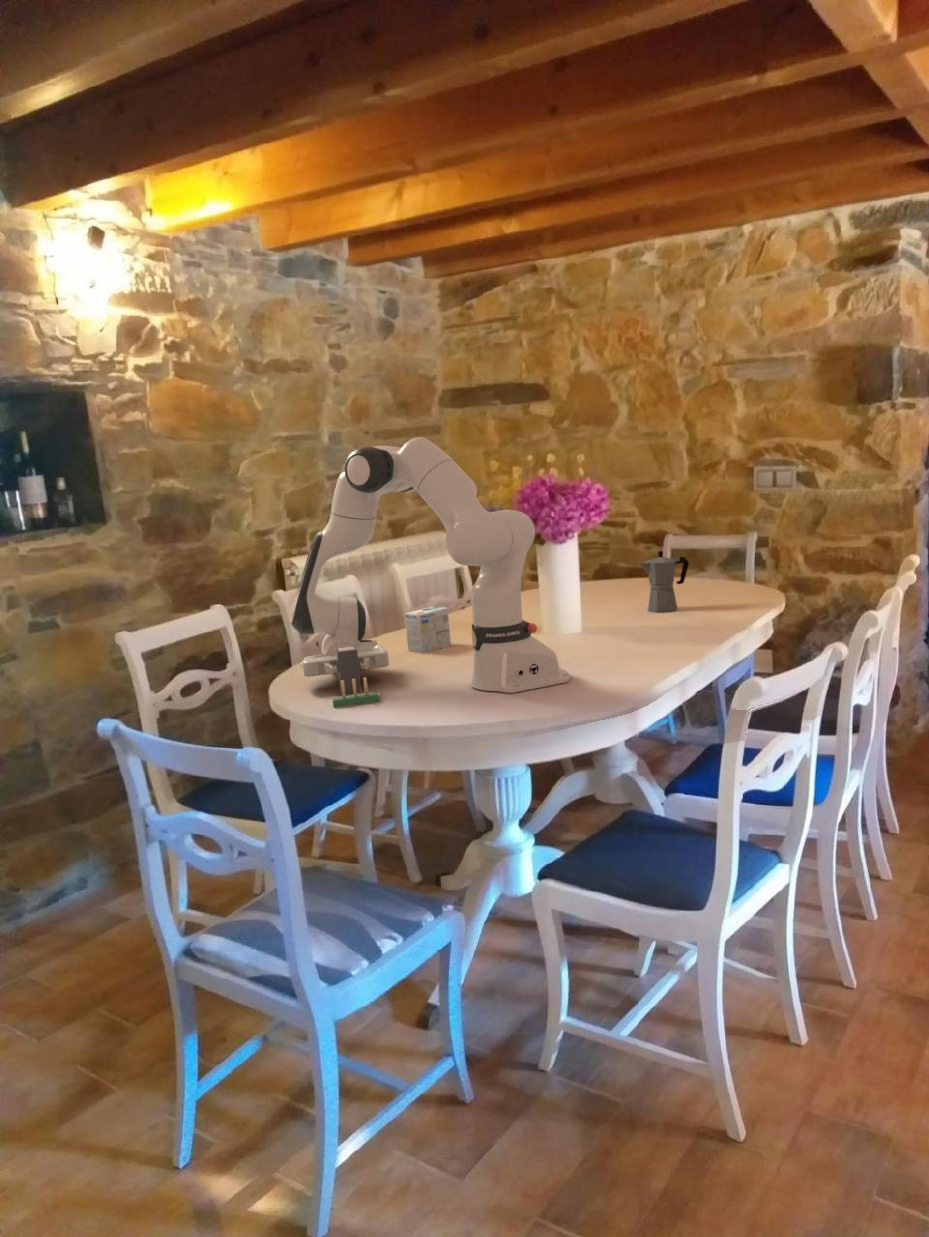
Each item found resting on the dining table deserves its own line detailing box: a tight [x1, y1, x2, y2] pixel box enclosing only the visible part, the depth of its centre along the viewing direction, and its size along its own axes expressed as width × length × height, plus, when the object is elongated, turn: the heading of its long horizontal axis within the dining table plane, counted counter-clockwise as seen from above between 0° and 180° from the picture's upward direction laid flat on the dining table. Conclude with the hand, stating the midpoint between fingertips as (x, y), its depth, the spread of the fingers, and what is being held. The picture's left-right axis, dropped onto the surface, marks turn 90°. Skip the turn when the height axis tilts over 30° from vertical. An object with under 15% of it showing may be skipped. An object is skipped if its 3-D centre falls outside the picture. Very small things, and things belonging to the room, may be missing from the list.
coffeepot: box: [639, 550, 690, 614], centre depth 282 cm, size 15×9×18 cm, turn 100°
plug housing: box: [336, 647, 362, 695], centre depth 216 cm, size 4×4×10 cm
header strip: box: [332, 676, 380, 708], centre depth 206 cm, size 10×2×6 cm, turn 103°
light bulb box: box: [404, 605, 452, 654], centre depth 255 cm, size 11×7×11 cm, turn 135°
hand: (348, 669), depth 215 cm, fingers open, 5 cm apart
